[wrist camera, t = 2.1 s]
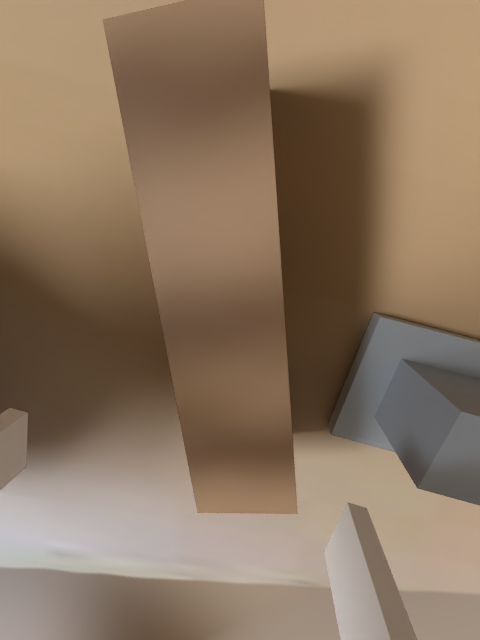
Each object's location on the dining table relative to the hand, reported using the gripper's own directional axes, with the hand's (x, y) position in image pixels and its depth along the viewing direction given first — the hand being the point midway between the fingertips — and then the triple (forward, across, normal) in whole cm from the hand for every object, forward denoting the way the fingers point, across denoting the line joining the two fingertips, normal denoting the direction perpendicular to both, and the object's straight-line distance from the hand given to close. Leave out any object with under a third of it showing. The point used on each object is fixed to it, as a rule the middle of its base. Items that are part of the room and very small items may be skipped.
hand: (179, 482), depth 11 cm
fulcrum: (+8, +15, +4) cm, 17 cm away
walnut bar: (+8, 0, +7) cm, 10 cm away
